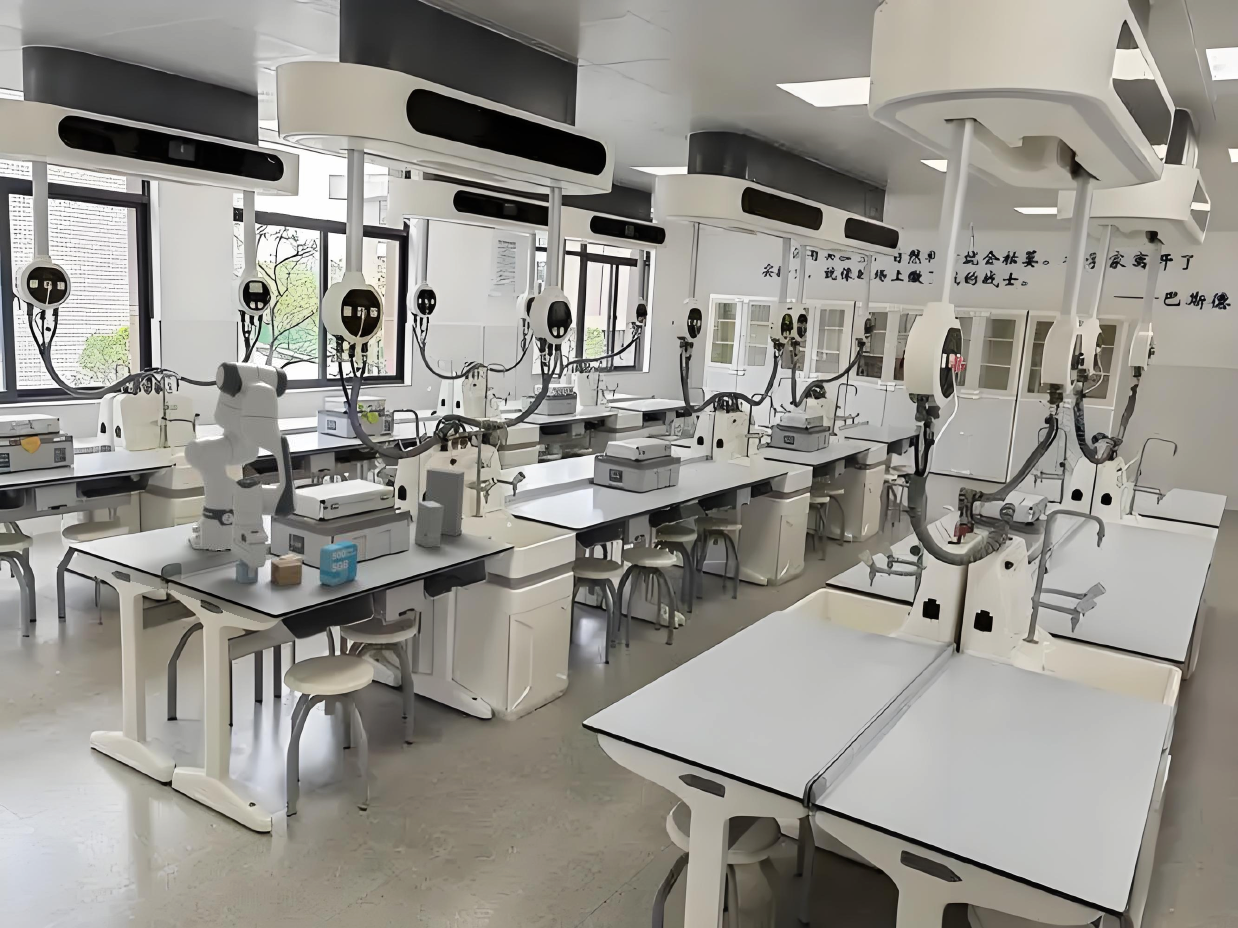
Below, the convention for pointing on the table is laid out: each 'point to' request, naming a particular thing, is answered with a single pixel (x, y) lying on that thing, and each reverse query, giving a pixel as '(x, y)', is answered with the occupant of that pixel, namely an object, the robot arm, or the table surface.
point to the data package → (338, 563)
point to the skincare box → (429, 524)
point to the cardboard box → (286, 572)
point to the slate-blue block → (245, 573)
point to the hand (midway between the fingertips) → (247, 574)
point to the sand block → (291, 557)
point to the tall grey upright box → (447, 497)
